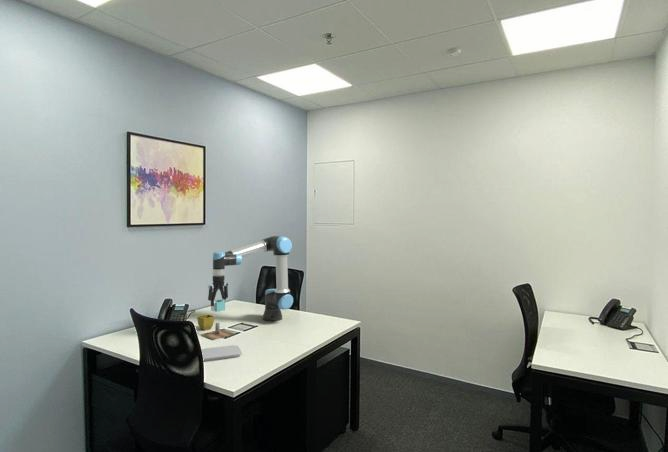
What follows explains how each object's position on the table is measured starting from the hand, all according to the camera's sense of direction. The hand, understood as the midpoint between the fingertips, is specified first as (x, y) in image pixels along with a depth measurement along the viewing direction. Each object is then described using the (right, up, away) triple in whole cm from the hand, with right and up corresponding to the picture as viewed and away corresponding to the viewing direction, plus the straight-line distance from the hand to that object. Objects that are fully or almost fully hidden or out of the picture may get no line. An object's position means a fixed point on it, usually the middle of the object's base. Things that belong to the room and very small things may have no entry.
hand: (218, 309), depth 253 cm
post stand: (-1, -17, +1) cm, 17 cm away
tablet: (+10, -19, -35) cm, 41 cm away
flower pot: (-13, -17, +13) cm, 25 cm away
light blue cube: (0, 0, 0) cm, 0 cm away
